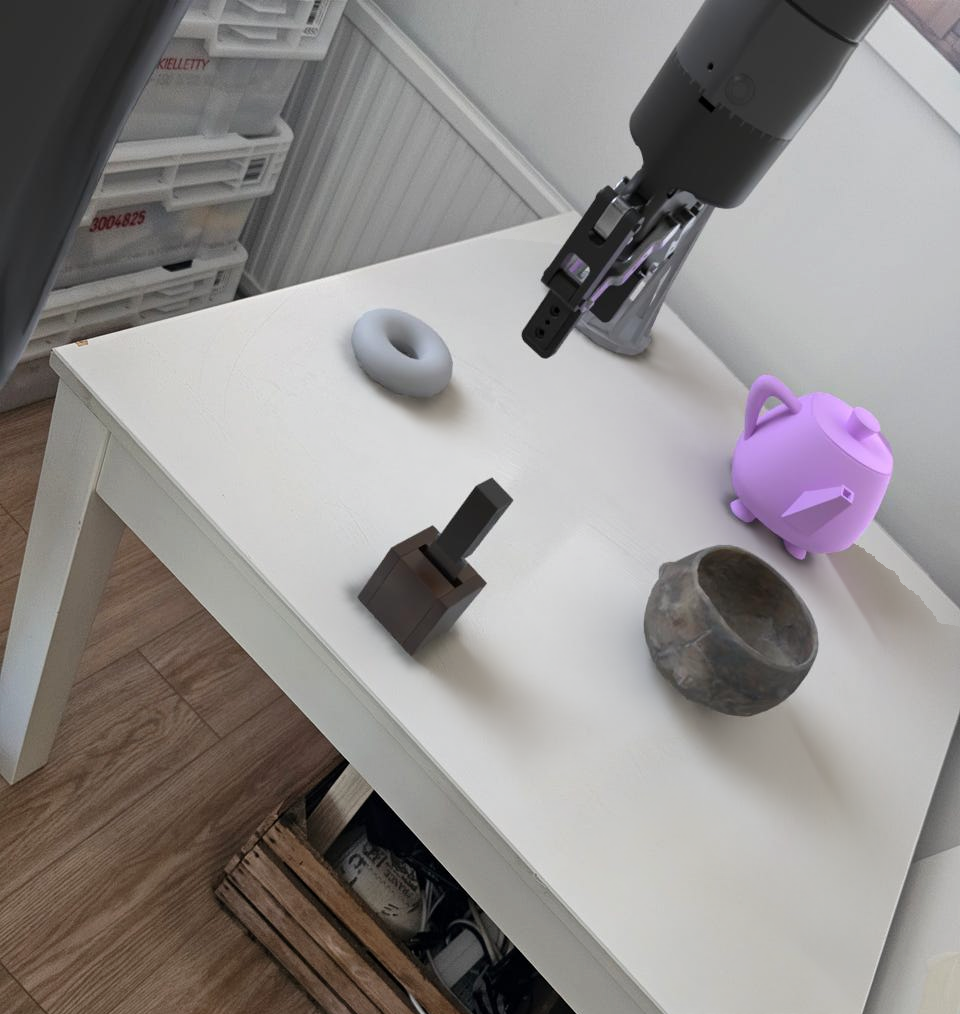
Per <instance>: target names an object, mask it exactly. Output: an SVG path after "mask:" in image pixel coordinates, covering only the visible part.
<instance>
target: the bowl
mask: <svg viewBox="0 0 960 1014" xmlns="http://www.w3.org/2000/svg"><path fill="white" fill-rule="evenodd" d="M643 634H644V640H645V643H646V647H647V650H648V652H649V655H650V657H651V659H652V661H653V663H654V665H655V667H656V669H657V671H658V672H659V673H660V675H661V676H662V677H663V678H664V679H666V681H667V682H668V683H669V684H670V685H671V686H673V688H674V689H675V690H676V691H677V692H678V693H679V694H680V695H681V696H683V697H684V698H685V699H686V700H688V701H691V702H694V703H695V704H699V705H702V706H703V707H706V708H707V709H709V710H712V711H714V712H718V713H721V714H723V715H724V714H725V715H728V716H732V717H733V716H734V717H741V718H743V717H745V718H747V717H752V716H753V717H754V716H755V715H760V714H762V713H764V712H767V711H769V710H771V709H773V708H775V707H777V706H779V705H780V704H782V703H783V702H785V701H787V699H788V698H789V697H791V695H793V694H794V693H795V692H796V690H797V689H798V688H799V687H800V686H801V685H802V683H803V681H804V680H805V679H806V677H807V676H808V674H809V673H810V671H811V669H812V668H813V665H814V663H815V661H816V659H817V656H818V652H819V632H818V628H817V625H816V622H815V619H814V617H813V614H812V612H811V610H810V609H809V607H808V606H807V604H806V602H805V601H804V599H803V598H802V596H801V595H800V593H798V591H797V590H796V588H795V587H794V586H793V585H792V584H791V583H790V582H789V581H788V580H787V579H786V578H785V577H784V576H783V575H782V574H781V573H780V572H779V571H778V570H776V568H775V567H773V566H772V565H771V564H770V563H768V562H767V561H765V559H763V558H761V557H759V556H758V555H756V554H754V552H753V553H752V552H751V551H749V550H747V549H744V548H742V547H739V546H736V545H732V544H715V545H712V546H709V547H704V548H702V549H699V550H698V551H695V552H693V553H691V554H688V555H686V556H684V557H682V558H680V559H678V560H676V561H666V562H663V563H661V565H660V566H659V568H658V579H657V580H656V581H655V583H654V585H653V586H652V588H651V591H650V594H649V596H648V599H647V602H646V605H645V610H644V615H643Z"/></svg>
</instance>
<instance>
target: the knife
mask: <svg viewBox="0 0 960 1014" xmlns="http://www.w3.org/2000/svg"><path fill="white" fill-rule="evenodd" d="M513 502H514V499H513V498H512V496H510V494H509V493H508V492H507V491H506V490H505V489H504V488H503V487H502V486H501V485H500V484H499V483H498V481H496V479H494V477H489V478H488V479H486V480H483V481H482V482H480V483H478V484H476V485H475V486H474V488H473V489H472V490H471V491H470V493H469V494H468V496H467V497H466V498H465V500H464V501H463V503H462V504H461V505H460V507H458V509H457V511H456V512H455V513H454V515H453V516H452V517H451V519H450V520H449V522H448V523H447V525H446V526H445V527H444V528H443V530H442V531H441V532H440V533H439V534H438V535H437V536H436V537H435V539H434V540H433V541H432V543H431V544H430V546H429V547H428V548H427V550H426V551H425V552H424V554H423V555H424V556H425V557H426V558H427V559H428V560H429V561H430V562H431V563H432V564H433V565H434V566H435V568H436V569H437V570H438V571H439V572H440V573H441V574H442V575H443V576H444V577H445V578H446V579H447V580H448V581H449V583H450V584H451V585H452V584H453V582H454V581H455V580H456V578H457V577H458V576H459V575H460V573H461V572H462V571H463V570H464V568H465V567H466V566H467V564H468V563H469V561H468V560H466V558H469V557H470V556H472V555H473V553H475V552H476V550H477V548H478V547H479V546H480V544H481V543H482V542H483V541H484V539H485V538H486V537H487V536H488V534H489V533H490V532H491V530H493V528H494V527H495V525H496V524H497V523H498V521H499V520H501V518H502V516H503V515H504V514H505V512H506V511H507V510H508V509H509V507H510V506H511V504H512V503H513Z"/></svg>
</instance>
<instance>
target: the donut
mask: <svg viewBox="0 0 960 1014" xmlns="http://www.w3.org/2000/svg"><path fill="white" fill-rule="evenodd" d="M350 339H351V341H350V342H351V346H352V350H353V353H354V356H355V358H356V360H357V361H358V363H359V364H360V366H361V369H363V370H364V372H366V373H367V375H369V376H370V377H371V378H372V379H373V380H374V381H376V382H377V383H378V384H380V385H381V386H383V387H384V388H385V389H388V390H389V391H392V392H394V393H396V394H398V395H402V396H406V397H410V398H429V397H431V396H434V395H436V394H439V393H441V392H442V391H443V390H444V389H445V388H446V386H448V384H449V383H450V381H451V379H452V376H453V368H454V364H453V363H454V362H453V358H452V355H451V352H450V349H449V347H448V345H447V344H446V342H445V341H444V340H443V338H442V336H440V335H439V333H438V332H437V331H435V329H433V327H432V326H430V325H429V324H427V323H426V322H424V321H423V319H420V318H419V317H417V316H414V315H412V314H410V313H408V312H406V311H403V310H399V309H396V308H387V307H382V308H381V307H380V308H375V309H372V310H367V311H366V312H365V313H364V314H362V316H359V318H358V319H357V320H356V321H355V323H354V324H353V328H352V333H351V337H350ZM401 351H402V352H403V353H402V352H401ZM404 353H405V354H404Z"/></svg>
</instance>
